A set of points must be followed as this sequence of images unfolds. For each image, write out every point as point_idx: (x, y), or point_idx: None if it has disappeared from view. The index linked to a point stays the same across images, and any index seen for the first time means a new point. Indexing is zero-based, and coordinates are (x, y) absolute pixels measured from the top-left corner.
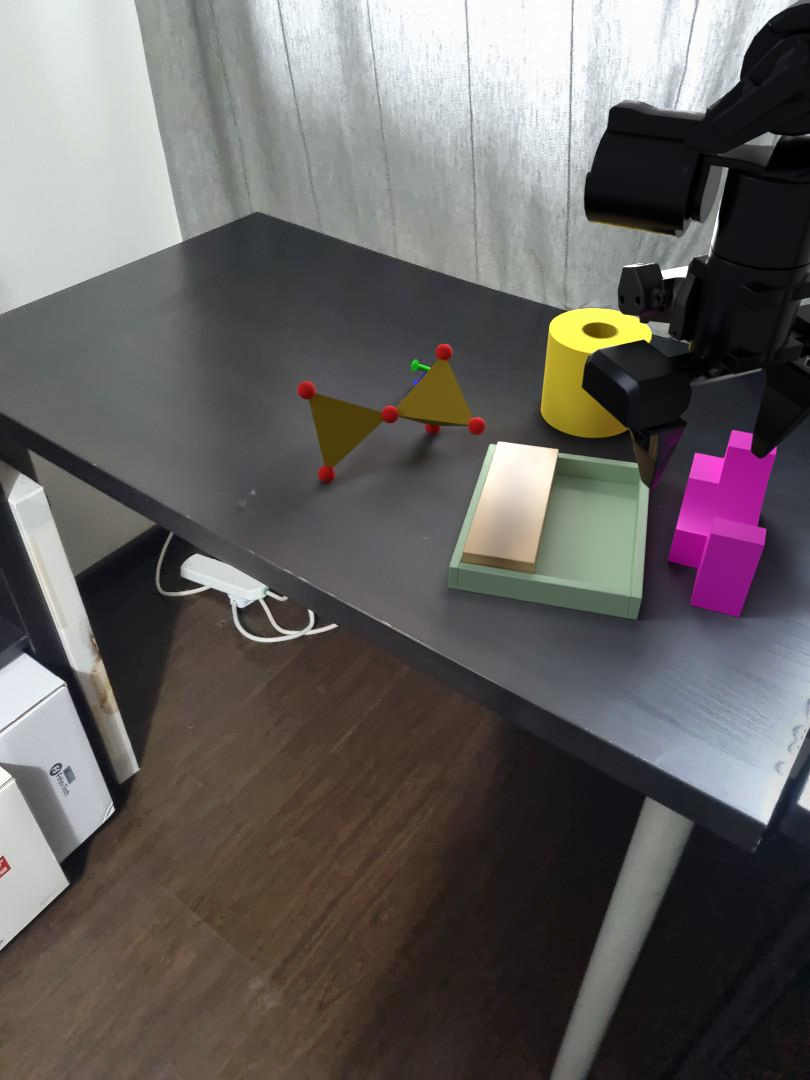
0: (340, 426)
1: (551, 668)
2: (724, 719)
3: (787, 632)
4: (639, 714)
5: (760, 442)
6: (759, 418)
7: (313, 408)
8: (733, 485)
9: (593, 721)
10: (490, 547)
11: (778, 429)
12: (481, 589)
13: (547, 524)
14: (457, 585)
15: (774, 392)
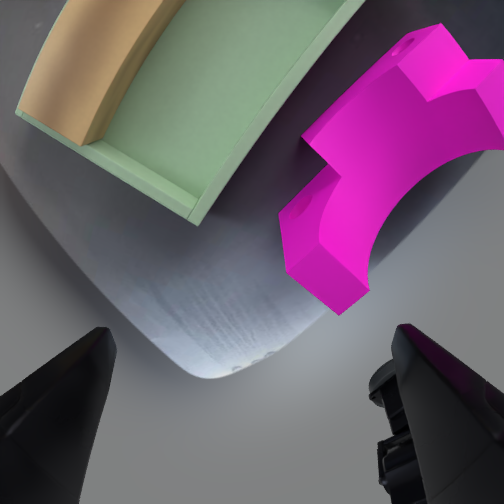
0: None
1: (97, 240)
2: (221, 332)
3: None
4: (155, 306)
5: (404, 366)
6: (435, 383)
7: None
8: (441, 118)
9: (116, 299)
10: (43, 105)
11: (415, 428)
12: None
13: (173, 21)
14: None
15: (471, 456)
